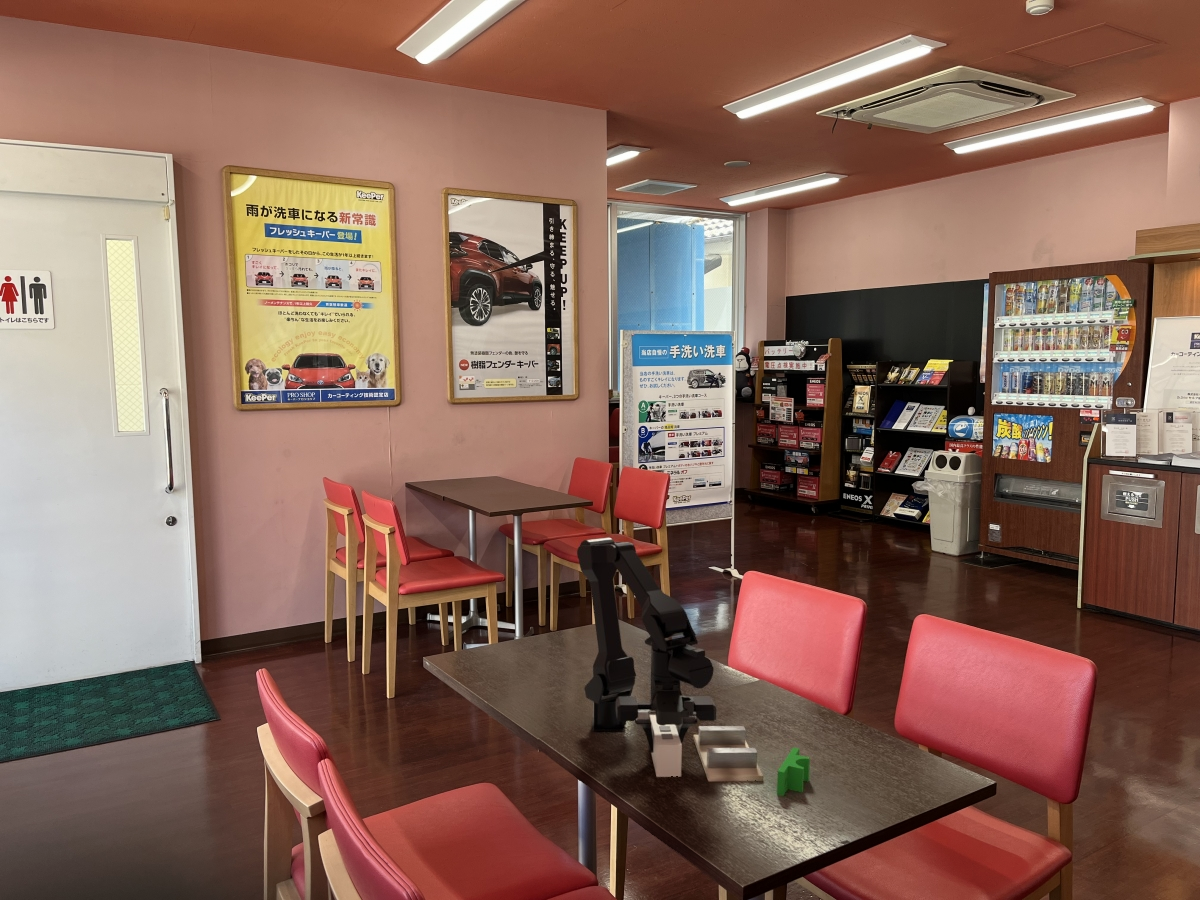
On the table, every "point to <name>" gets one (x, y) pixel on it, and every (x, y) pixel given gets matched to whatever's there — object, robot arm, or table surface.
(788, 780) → the pipe clamp
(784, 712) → the table surface
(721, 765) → the stand
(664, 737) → the power strip
